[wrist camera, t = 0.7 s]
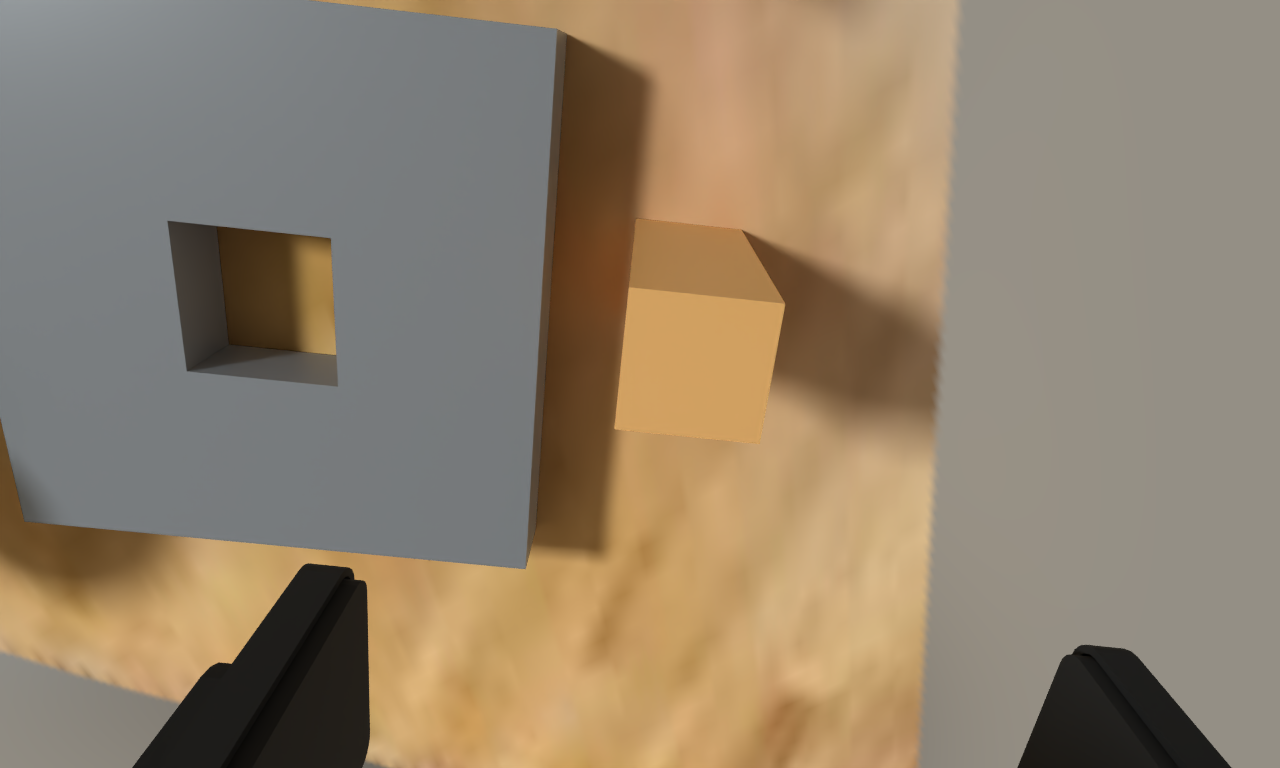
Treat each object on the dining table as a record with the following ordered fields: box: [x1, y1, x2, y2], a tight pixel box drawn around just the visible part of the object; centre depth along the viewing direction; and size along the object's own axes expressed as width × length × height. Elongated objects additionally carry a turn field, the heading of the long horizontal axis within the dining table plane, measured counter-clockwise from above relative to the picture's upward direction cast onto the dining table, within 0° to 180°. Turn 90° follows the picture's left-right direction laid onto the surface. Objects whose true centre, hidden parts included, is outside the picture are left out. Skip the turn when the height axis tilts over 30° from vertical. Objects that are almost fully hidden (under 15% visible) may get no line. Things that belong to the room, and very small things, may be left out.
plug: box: [614, 218, 785, 444], centre depth 25 cm, size 4×4×10 cm
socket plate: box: [0, 0, 567, 569], centre depth 28 cm, size 20×20×3 cm
